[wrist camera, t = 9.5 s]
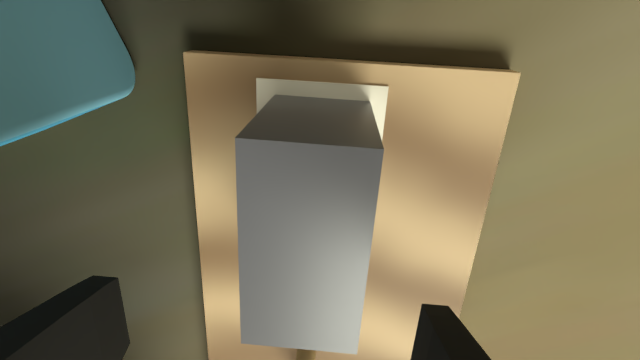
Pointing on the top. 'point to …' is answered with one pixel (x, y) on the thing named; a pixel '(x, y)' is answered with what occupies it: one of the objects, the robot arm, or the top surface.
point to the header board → (394, 189)
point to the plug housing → (306, 221)
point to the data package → (57, 63)
